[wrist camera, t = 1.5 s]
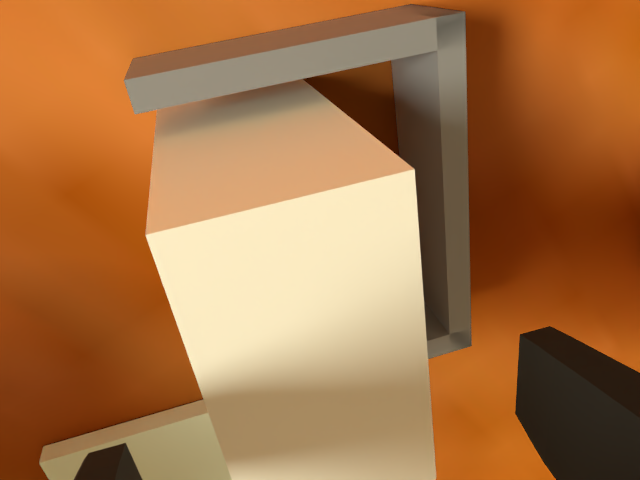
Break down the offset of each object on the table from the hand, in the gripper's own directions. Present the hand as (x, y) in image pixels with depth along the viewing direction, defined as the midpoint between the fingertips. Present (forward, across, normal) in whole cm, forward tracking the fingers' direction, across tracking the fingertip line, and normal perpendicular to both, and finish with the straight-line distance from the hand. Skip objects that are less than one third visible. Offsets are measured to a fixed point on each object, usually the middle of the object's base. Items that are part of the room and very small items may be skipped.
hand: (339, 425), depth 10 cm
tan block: (+10, 0, 0) cm, 10 cm away
